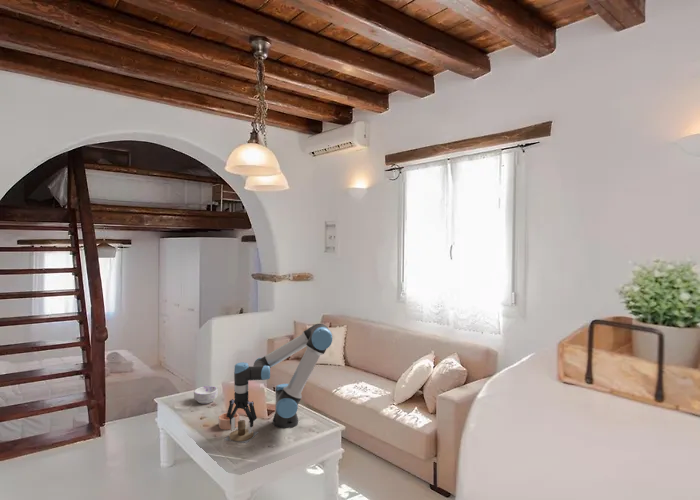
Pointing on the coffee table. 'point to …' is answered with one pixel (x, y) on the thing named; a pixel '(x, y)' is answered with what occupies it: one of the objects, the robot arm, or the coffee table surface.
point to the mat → (241, 441)
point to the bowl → (227, 421)
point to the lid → (241, 433)
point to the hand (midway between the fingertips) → (241, 431)
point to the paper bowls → (205, 394)
